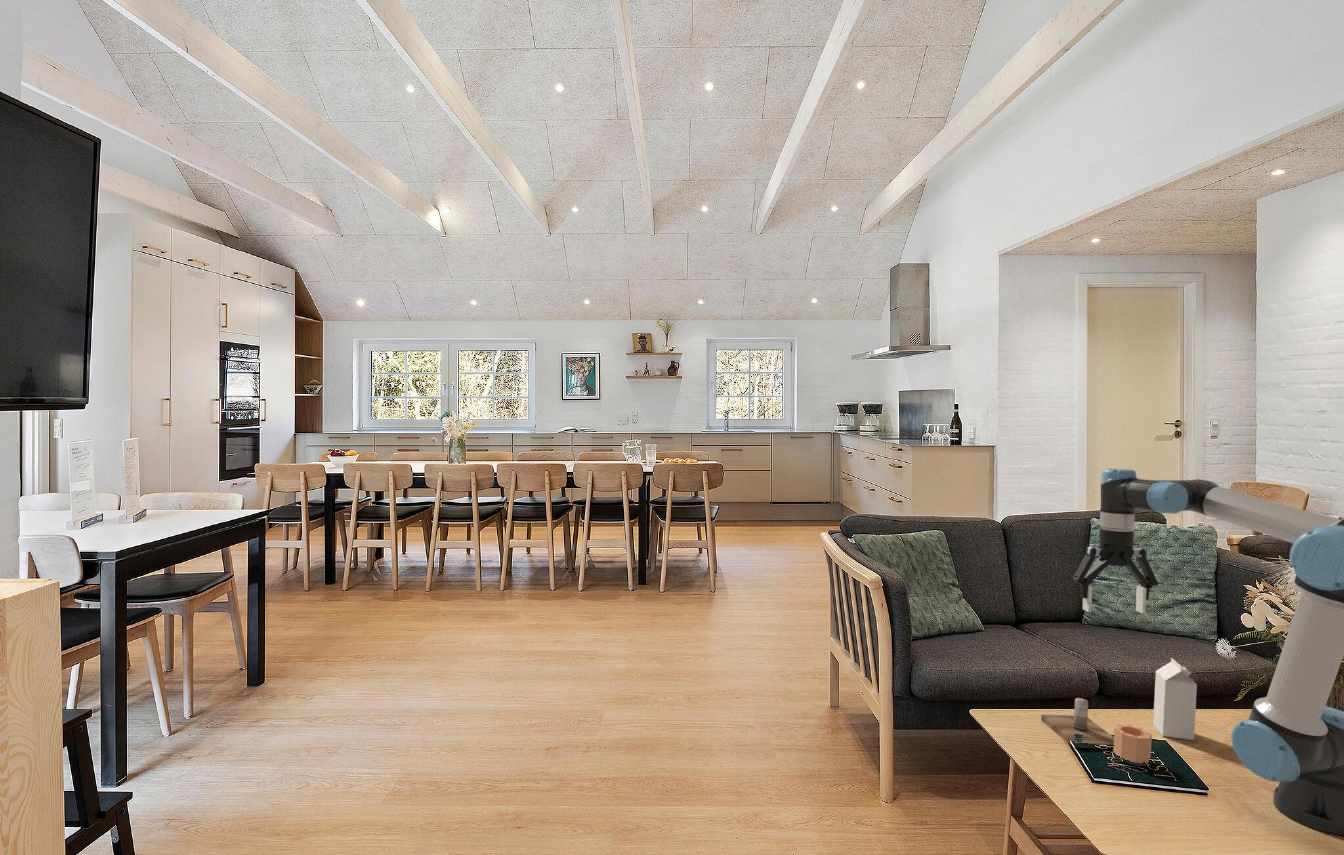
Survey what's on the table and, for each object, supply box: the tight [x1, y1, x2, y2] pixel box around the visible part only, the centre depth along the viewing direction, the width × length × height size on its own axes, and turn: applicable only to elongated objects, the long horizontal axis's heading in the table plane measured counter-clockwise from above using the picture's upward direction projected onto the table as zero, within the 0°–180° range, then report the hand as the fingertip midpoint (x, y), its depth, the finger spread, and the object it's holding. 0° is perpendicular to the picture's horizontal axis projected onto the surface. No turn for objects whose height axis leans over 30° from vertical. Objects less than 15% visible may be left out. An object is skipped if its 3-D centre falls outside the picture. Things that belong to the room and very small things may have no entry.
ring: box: [1112, 724, 1153, 763], centre depth 173 cm, size 7×7×7 cm
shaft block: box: [1040, 697, 1114, 745], centre depth 186 cm, size 16×12×9 cm
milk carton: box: [1152, 657, 1198, 741], centre depth 188 cm, size 7×7×19 cm
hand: (1113, 611), depth 182 cm, fingers open, 13 cm apart
